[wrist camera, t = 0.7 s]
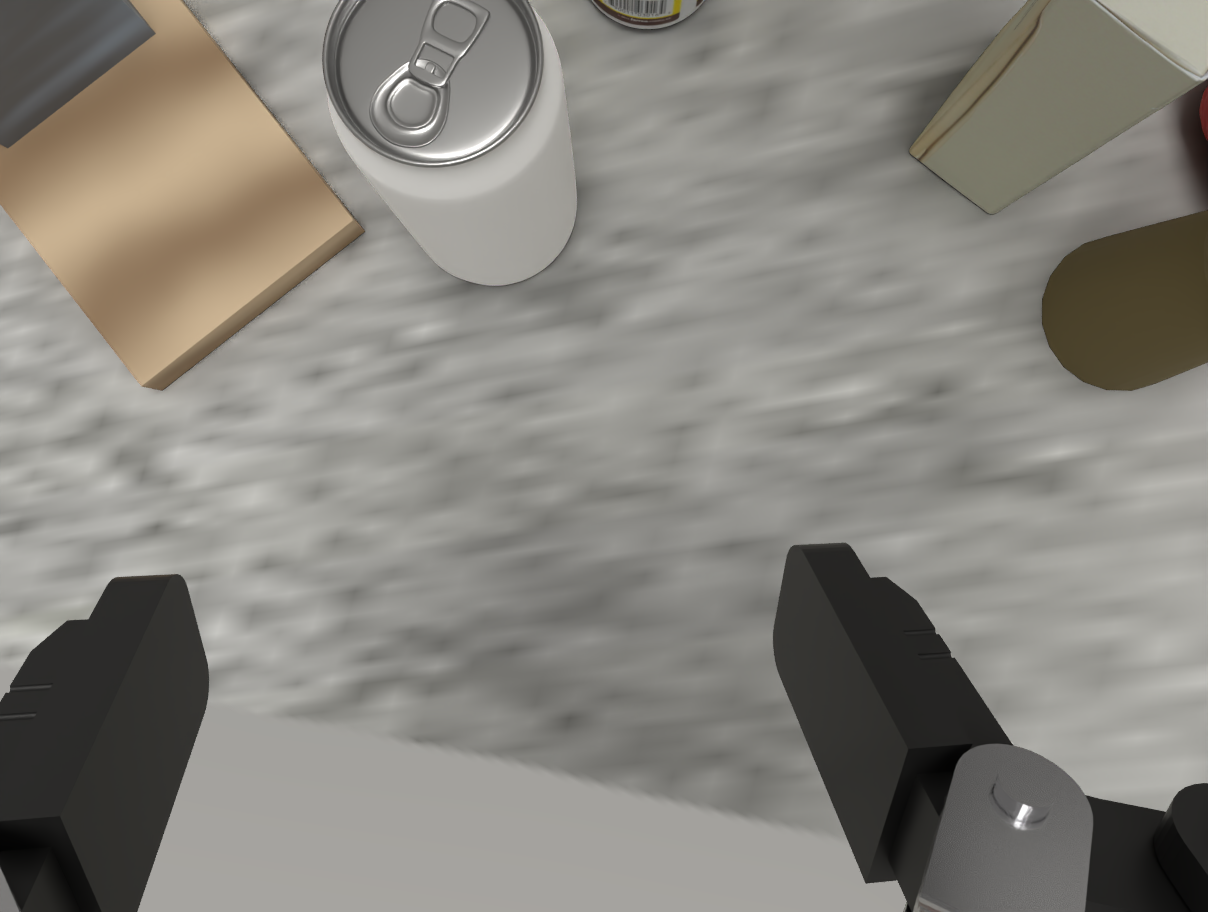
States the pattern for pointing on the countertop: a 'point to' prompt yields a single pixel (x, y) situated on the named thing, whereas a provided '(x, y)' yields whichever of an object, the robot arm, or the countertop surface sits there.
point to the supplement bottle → (647, 11)
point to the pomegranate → (1204, 113)
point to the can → (458, 128)
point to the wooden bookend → (154, 177)
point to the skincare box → (1061, 91)
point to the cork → (1132, 305)
